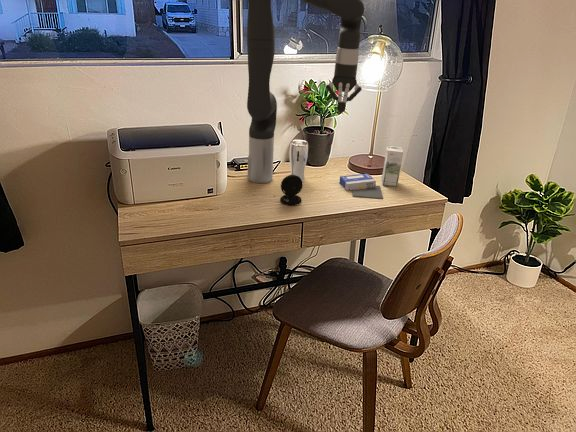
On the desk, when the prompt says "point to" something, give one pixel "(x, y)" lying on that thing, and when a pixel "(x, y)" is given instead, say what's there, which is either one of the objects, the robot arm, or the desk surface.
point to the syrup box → (392, 166)
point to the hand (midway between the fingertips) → (340, 112)
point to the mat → (368, 193)
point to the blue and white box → (357, 181)
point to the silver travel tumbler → (298, 157)
